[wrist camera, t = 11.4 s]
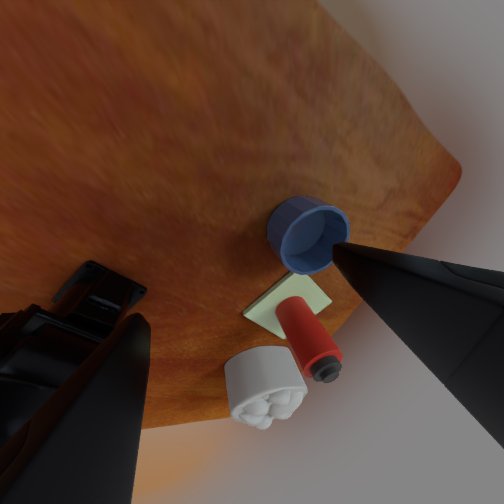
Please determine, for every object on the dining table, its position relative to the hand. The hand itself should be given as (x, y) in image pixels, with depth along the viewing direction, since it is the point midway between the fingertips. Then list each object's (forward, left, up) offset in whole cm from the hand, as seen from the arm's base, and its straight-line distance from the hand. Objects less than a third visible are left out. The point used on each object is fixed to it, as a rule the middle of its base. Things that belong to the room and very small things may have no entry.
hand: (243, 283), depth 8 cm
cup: (+5, -9, -13) cm, 17 cm away
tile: (-4, -19, -13) cm, 24 cm away
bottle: (-4, -19, -12) cm, 23 cm away
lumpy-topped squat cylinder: (-17, -27, -13) cm, 35 cm away
